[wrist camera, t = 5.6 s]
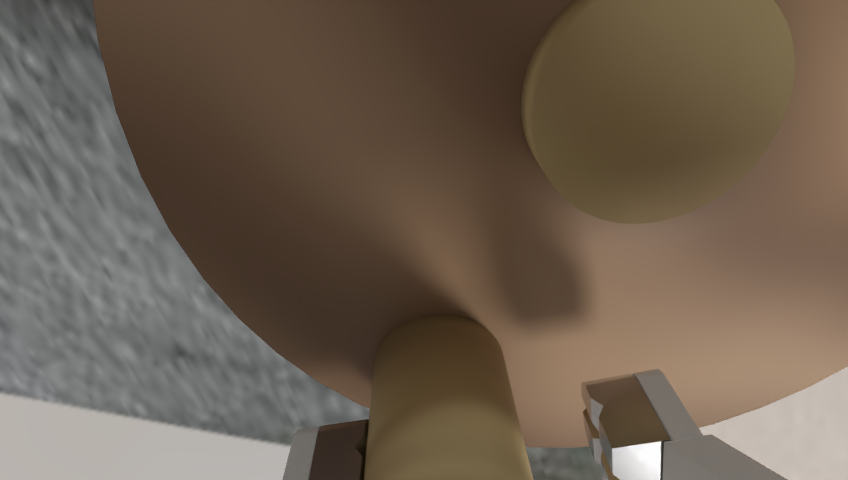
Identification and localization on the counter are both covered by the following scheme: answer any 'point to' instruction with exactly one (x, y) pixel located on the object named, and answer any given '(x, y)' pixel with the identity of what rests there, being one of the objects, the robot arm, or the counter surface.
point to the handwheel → (503, 200)
